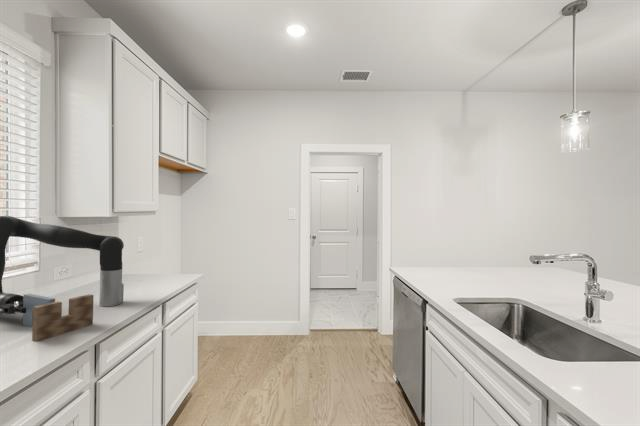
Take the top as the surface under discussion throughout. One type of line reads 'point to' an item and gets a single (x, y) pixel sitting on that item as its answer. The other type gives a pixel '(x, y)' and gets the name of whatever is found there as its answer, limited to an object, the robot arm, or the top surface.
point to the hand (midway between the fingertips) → (34, 308)
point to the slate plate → (30, 302)
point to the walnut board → (61, 317)
